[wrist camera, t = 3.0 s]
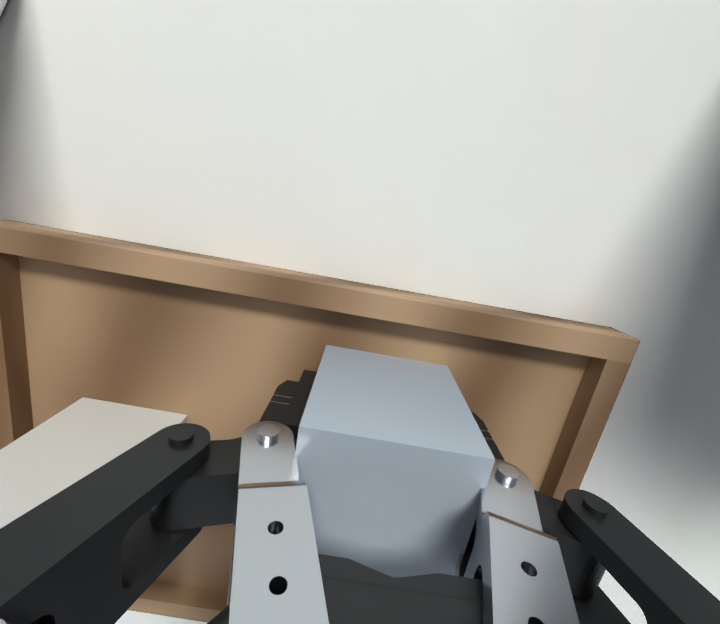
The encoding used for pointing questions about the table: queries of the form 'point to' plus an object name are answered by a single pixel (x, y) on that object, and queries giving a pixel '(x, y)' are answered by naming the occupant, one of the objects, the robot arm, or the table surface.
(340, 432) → the pale blue cube
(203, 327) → the walnut tray
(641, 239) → the table surface
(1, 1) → the white cup
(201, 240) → the table surface
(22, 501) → the pale grey cube
